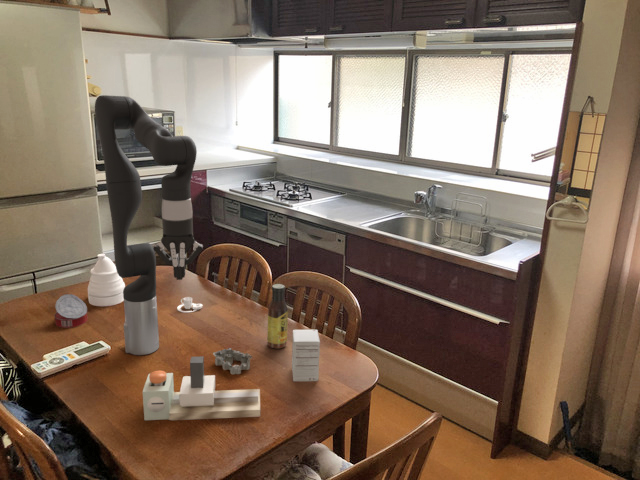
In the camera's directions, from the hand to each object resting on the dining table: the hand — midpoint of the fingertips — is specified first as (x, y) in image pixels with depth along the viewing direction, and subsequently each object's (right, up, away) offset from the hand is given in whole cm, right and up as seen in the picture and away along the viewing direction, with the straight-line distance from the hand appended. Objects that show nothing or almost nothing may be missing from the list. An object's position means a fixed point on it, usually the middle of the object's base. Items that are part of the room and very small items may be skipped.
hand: (179, 278), depth 138 cm
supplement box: (+33, -29, +11) cm, 45 cm away
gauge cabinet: (-3, -32, -7) cm, 33 cm away
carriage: (+6, -30, -7) cm, 32 cm away
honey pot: (-42, -12, +55) cm, 70 cm away
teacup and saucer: (-9, -16, +48) cm, 52 cm away
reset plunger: (-3, -29, -8) cm, 30 cm away
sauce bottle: (+24, -23, +27) cm, 43 cm away
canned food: (-46, -17, +37) cm, 62 cm away
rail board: (+11, -32, -5) cm, 35 cm away
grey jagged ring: (+11, -27, +15) cm, 33 cm away
